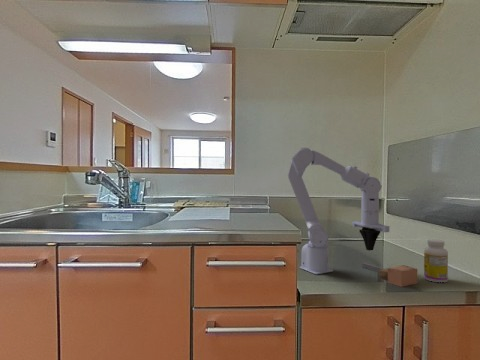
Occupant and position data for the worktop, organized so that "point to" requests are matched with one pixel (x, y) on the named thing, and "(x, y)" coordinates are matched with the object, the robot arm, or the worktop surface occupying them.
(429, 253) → the supplement bottle
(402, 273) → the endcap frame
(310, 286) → the worktop surface
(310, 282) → the worktop surface
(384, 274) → the brown rectangular block
